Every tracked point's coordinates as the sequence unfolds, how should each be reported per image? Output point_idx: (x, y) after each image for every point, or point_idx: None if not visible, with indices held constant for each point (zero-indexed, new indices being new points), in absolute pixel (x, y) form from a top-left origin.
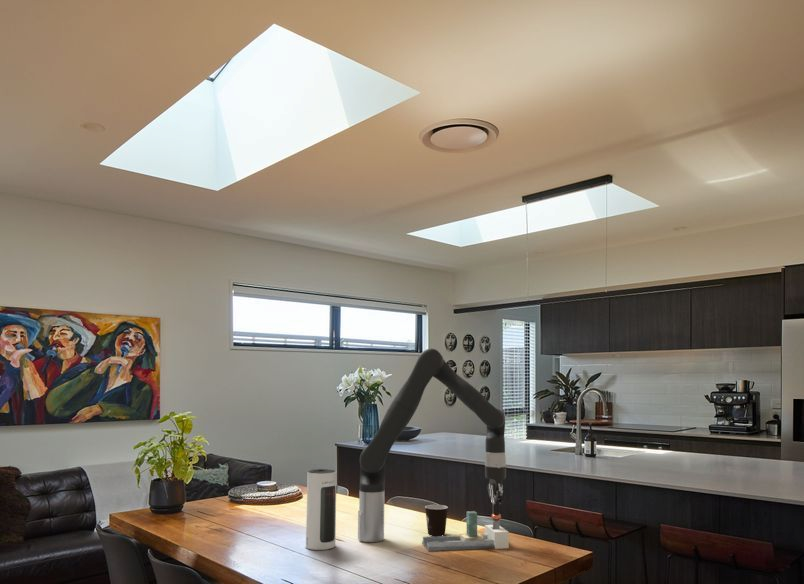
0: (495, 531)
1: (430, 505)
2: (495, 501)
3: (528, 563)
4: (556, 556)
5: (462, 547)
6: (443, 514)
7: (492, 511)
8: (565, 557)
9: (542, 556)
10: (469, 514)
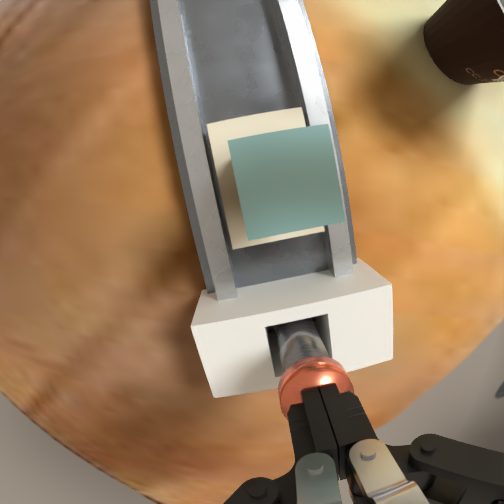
0: (212, 333)
1: None
2: (249, 495)
3: (32, 366)
4: (134, 459)
5: (168, 116)
6: (491, 36)
7: (338, 392)
8: (130, 472)
9: (122, 429)
10: (230, 147)
